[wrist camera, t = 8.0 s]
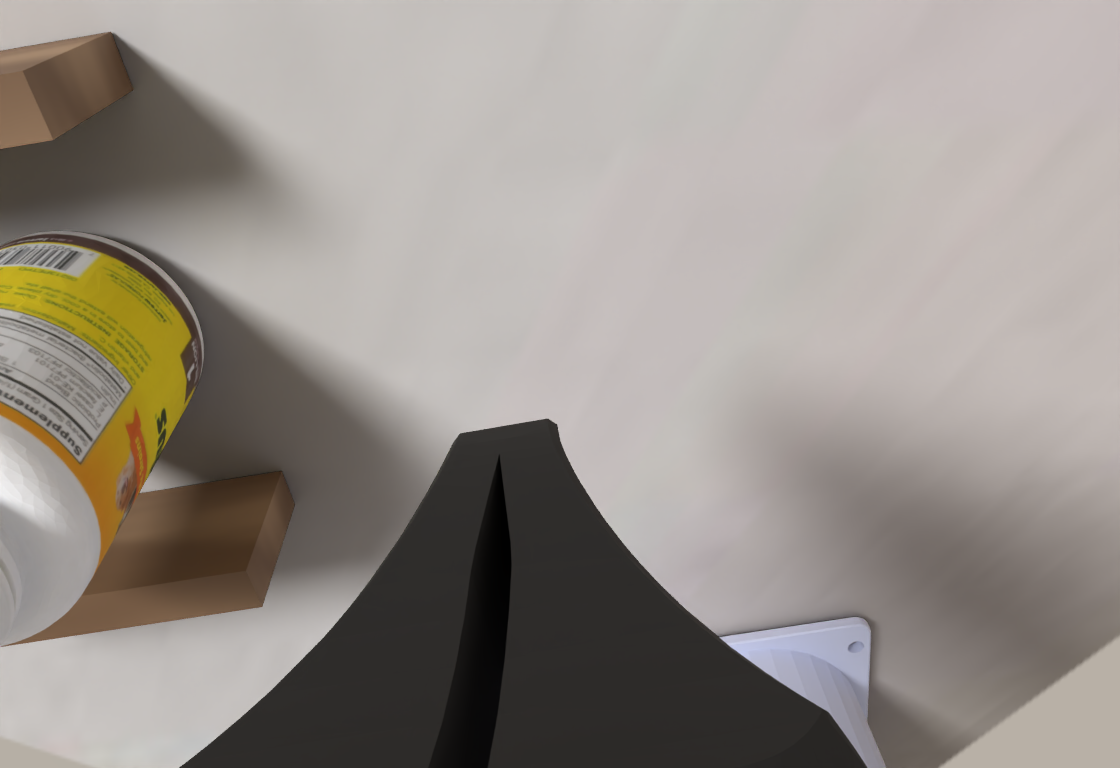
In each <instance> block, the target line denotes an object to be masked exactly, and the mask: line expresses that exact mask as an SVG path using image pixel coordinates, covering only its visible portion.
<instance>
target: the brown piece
mask: <svg viewBox="0 0 1120 768" xmlns="http://www.w3.org/2000/svg"><path fill="white" fill-rule="evenodd" d="M131 91H133V87H132V85H131V82H130V79H129V77H128V74H127V72H126V69H125V67H124V64H123V61H122V59H121V56H120V54H119V51H118V49H117V46H116V43H115V41H114V38H113V36H112V33H111V32H107V33H101V34H96V35H90V36H84V37H78V38H72V39H67V40H61V41H55V42H49V43H43V44H37V45H32V46H26V47H20V48H14V49H8V50H3V51H0V149H3V148H9V147H15V146H21V145H27V144H33V143H39V142H45V141H51V140H54V139H56V138H57V137H59V136H61V135H62V134H64V133H65V132H67V131H69V130H70V129H72V128H73V127H75V126H77V125H78V124H80V123H81V122H83V121H85V120H86V119H88V118H89V117H91V116H93V115H94V114H96V113H97V112H99V111H101V110H102V109H104V108H105V107H107V106H109V105H110V104H112V103H113V102H115V101H117V100H118V99H120V98H121V97H123V96H125V95H126V94H128V93H129V92H131ZM294 506H295V504H294V501H293V499H292V496H291V493H290V491H289V488H288V486H287V483H286V481H285V478H284V475H283V473H282V471H279V472H273V473H267V474H260V475H254V476H247V477H241V478H235V479H228V480H222V481H216V482H209V483H203V484H197V485H190V486H184V487H178V488H171V489H165V490H158V491H152V492H146V493H139V494H138V496H137V498H136V500H135V501H134V503H133V505H132V507H131V509H130V511H129V513H128V514H127V516H126V518H125V520H124V521H123V523H122V525H121V527H120V529H119V530H118V532H117V534H116V536H115V538H114V540H113V541H112V543H111V545H110V547H109V549H108V551H107V552H106V554H105V556H104V558H103V560H102V561H101V563H100V565H99V567H98V569H97V570H96V572H95V574H94V576H93V578H92V579H91V581H90V582H89V584H88V586H87V587H86V589H85V590H84V592H83V594H82V595H81V597H80V598H79V599H78V601H77V602H76V603H75V604H74V605H73V607H72V608H71V609H70V610H69V611H68V612H67V613H66V614H65V615H63V616H62V617H61V618H60V619H59V620H57V621H56V622H54V623H53V624H52V625H50V626H49V627H47V628H46V629H44V630H42V631H41V632H39V633H37V634H35V635H33V636H31V637H29V638H26V639H23V640H21V641H18V642H15V643H12V644H8V645H4V646H9V645H16V644H22V643H29V642H36V641H42V640H49V639H55V638H62V637H68V636H75V635H81V634H88V633H94V632H101V631H107V630H114V629H121V628H127V627H134V626H140V625H147V624H153V623H160V622H166V621H173V620H179V619H186V618H192V617H199V616H206V615H212V614H219V613H225V612H232V611H238V610H245V609H251V608H258V607H262V606H263V603H264V600H265V596H266V593H267V590H268V587H269V584H270V581H271V578H272V575H273V571H274V568H275V565H276V562H277V559H278V556H279V553H280V550H281V546H282V543H283V540H284V537H285V534H286V531H287V528H288V525H289V521H290V518H291V515H292V512H293V509H294ZM1 647H3V646H1Z"/></svg>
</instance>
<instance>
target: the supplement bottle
mask: <svg viewBox="0 0 1120 768" xmlns="http://www.w3.org/2000/svg"><path fill="white" fill-rule="evenodd" d="M203 360H204V344H203V336H202V331H201V328H200V324H199V322H198V319H197V316H196V314H195V312H194V310H193V307H192V306H191V304H190V302H189V301H188V299H187V297H186V296H185V295H184V293H183V292H182V290H181V289H180V288H179V287H178V285H177V284H176V283H175V282H174V281H173V280H172V279H171V278H170V277H169V276H168V275H167V274H166V273H165V272H164V271H163V270H162V269H161V268H160V267H158V266H157V265H156V264H154V263H153V262H152V261H150V260H149V259H148V258H146V257H145V256H143V255H142V254H140V253H138V252H137V251H135V250H133V249H131V248H129V247H127V246H125V245H123V244H120V243H118V242H115V241H113V240H110V239H107V238H104V237H100V236H97V235H92V234H87V233H82V232H74V231H46V232H39V233H33V234H29V235H25V236H22V237H19V238H16V239H14V240H11V241H9V242H7V243H5V244H3V245H1V246H0V647H1V646H4V645H8V644H12V643H15V642H18V641H21V640H23V639H26V638H29V637H31V636H33V635H35V634H37V633H39V632H41V631H42V630H44V629H46V628H47V627H49V626H50V625H52V624H53V623H54V622H56V621H57V620H59V619H60V618H61V617H62V616H63V615H65V614H66V613H67V612H68V611H69V610H70V609H71V608H72V607H73V605H74V604H75V603H76V602H77V601H78V599H79V598H80V597H81V595H82V594H83V592H84V590H85V589H86V587H87V586H88V584H89V582H90V581H91V579H92V578H93V576H94V574H95V572H96V570H97V569H98V567H99V565H100V563H101V561H102V560H103V558H104V556H105V554H106V552H107V551H108V549H109V547H110V545H111V543H112V541H113V540H114V538H115V536H116V534H117V532H118V530H119V529H120V527H121V525H122V523H123V521H124V520H125V518H126V516H127V514H128V513H129V511H130V509H131V507H132V505H133V503H134V501H135V500H136V498H137V496H138V494H139V492H140V490H141V489H142V487H143V485H144V483H145V481H146V480H147V478H148V476H149V474H150V473H151V471H152V469H153V467H154V465H155V463H156V462H157V460H158V458H159V456H160V454H161V452H162V450H163V448H164V447H165V445H166V443H167V441H168V439H169V437H170V436H171V434H172V432H173V430H174V428H175V427H176V425H177V423H178V421H179V419H180V418H181V416H182V414H183V412H184V411H185V409H186V407H187V405H188V403H189V401H190V399H191V397H192V395H193V393H194V391H195V389H196V387H197V385H198V382H199V379H200V376H201V373H202V368H203Z"/></svg>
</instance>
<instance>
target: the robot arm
mask: <svg viewBox="0 0 1120 768" xmlns="http://www.w3.org/2000/svg"><path fill="white" fill-rule="evenodd" d="M856 641H857V642H856ZM853 642H855V643H853ZM851 643H852V644H851ZM870 651H871V630H870V627H869V625H868V623H867V621H866V620H864V619H863V618H860V617H850V618H844V619H837V620H830V621H824V622H817V623H810V624H804V625H797V626H790V627H784V628H777V629H770V630H764V631H757V632H750V633H744V634H737V635H730V636H724V637H718V636H717V635H716V634H715V633H713V632H712V631H711V630H710V629H709V628H707V627H706V626H705V625H704V624H703V623H701V622H700V621H699V620H698V619H697V618H696V617H694V616H693V615H692V614H691V613H690V612H688V611H687V610H686V609H685V608H684V607H683V606H682V605H680V604H679V603H678V602H677V601H676V600H675V599H674V598H673V597H672V596H671V595H670V594H669V593H668V592H667V591H666V590H665V589H664V588H663V587H662V586H661V585H660V584H659V583H658V582H657V581H656V580H655V579H654V578H653V577H652V576H651V575H650V573H649V572H648V571H647V570H646V569H645V568H644V567H643V566H642V565H641V564H640V563H639V562H638V560H637V559H636V558H635V557H634V556H633V555H632V554H631V552H630V551H629V550H628V549H627V548H626V546H625V545H624V544H623V543H622V541H621V540H620V539H619V538H618V536H617V535H616V534H615V532H614V531H613V530H612V528H611V527H610V526H609V525H608V523H607V522H606V521H605V519H604V518H603V516H602V515H601V513H600V512H599V511H598V509H597V508H596V506H595V505H594V503H593V502H592V500H591V498H590V497H589V495H588V494H587V492H586V491H585V489H584V487H583V486H582V484H581V483H580V481H579V479H578V478H577V476H576V474H575V472H574V470H573V468H572V466H571V464H570V462H569V460H568V458H567V456H566V454H565V452H564V449H563V447H562V444H561V442H560V437H559V432H558V427H557V424H555V423H554V422H552V421H551V420H549V419H543V420H537V421H531V422H525V423H519V424H513V425H507V426H502V427H496V428H490V429H484V430H478V431H472V432H466V433H460V434H459V436H458V437H457V438H456V440H455V441H454V443H453V445H452V446H451V448H450V450H449V452H448V454H447V456H446V458H445V460H444V462H443V464H442V466H441V468H440V470H439V472H438V474H437V475H436V477H435V479H434V481H433V483H432V484H431V486H430V488H429V490H428V492H427V493H426V495H425V497H424V499H423V500H422V502H421V504H420V505H419V507H418V509H417V510H416V512H415V514H414V515H413V517H412V519H411V520H410V522H409V524H408V525H407V527H406V529H405V530H404V532H403V533H402V535H401V536H400V538H399V540H398V541H397V543H396V544H395V545H394V547H393V548H392V550H391V551H390V553H389V554H388V556H387V557H386V558H385V560H384V561H383V563H382V564H381V566H380V567H379V569H378V570H377V571H376V573H375V574H374V576H373V577H372V579H371V580H370V581H369V583H368V584H367V585H366V587H365V588H364V589H363V591H362V592H361V593H360V595H359V596H358V597H357V598H356V600H355V601H354V602H353V603H352V605H351V606H350V607H349V608H348V610H347V611H346V612H345V613H344V614H343V616H342V617H341V618H340V619H339V620H338V622H337V623H336V624H335V625H334V626H333V628H332V629H331V630H330V631H329V632H328V633H327V634H326V635H325V637H324V638H323V639H322V640H321V641H320V642H319V643H318V644H317V645H316V646H315V647H314V648H313V649H312V650H311V651H310V652H309V653H308V654H307V655H306V656H305V657H304V658H303V659H302V660H301V661H300V662H299V663H298V664H297V665H296V666H295V667H294V668H293V669H292V670H291V671H290V672H289V673H288V674H287V675H286V676H285V677H284V678H283V679H282V680H281V681H280V682H279V683H278V684H277V685H276V686H275V687H274V688H273V689H272V690H271V691H270V692H269V693H268V694H267V695H266V696H265V697H263V698H262V699H261V700H260V701H259V702H258V703H257V704H256V705H255V706H253V707H252V708H251V709H250V710H249V711H248V712H247V713H246V714H244V715H243V716H242V717H241V718H240V719H239V720H238V721H236V722H235V723H234V724H233V725H232V726H230V727H229V728H228V729H227V730H226V731H225V732H223V733H222V734H221V735H220V736H219V737H217V738H216V739H215V740H214V741H213V742H211V743H210V744H209V745H208V746H207V747H205V748H204V749H203V750H201V751H200V752H199V753H198V754H196V755H195V756H194V757H193V758H191V759H190V760H189V761H188V762H186V763H185V764H184V765H182V766H181V767H180V768H886V765H885V763H884V760H883V758H882V756H881V753H880V751H879V749H878V746H877V744H876V742H875V739H874V737H873V735H872V732H871V730H870V727H869V725H868V723H867V717H868V695H869V673H870Z"/></svg>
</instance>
